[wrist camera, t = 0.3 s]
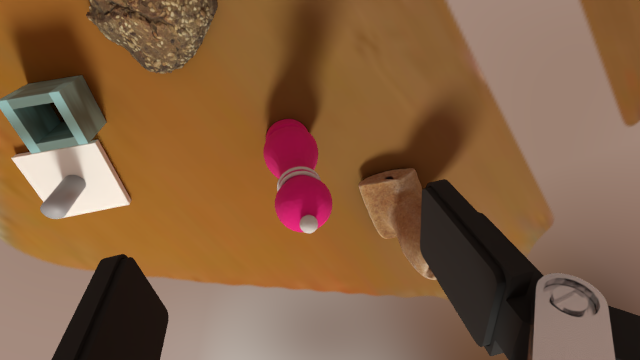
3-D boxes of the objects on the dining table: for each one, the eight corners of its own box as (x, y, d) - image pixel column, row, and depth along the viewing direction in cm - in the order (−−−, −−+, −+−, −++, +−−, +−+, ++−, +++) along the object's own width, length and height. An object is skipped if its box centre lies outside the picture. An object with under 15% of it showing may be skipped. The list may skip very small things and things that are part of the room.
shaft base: (15, 154, 42) (-21, 184, 36) (97, 139, 43) (75, 166, 37) (59, 214, 48) (34, 249, 42) (131, 200, 49) (116, 232, 43)
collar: (27, 83, 38) (-5, 101, 33) (82, 74, 39) (58, 91, 34) (56, 131, 42) (31, 153, 37) (106, 122, 42) (88, 143, 37)
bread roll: (233, 5, 38) (231, 10, 34) (170, 84, 41) (162, 98, 37) (123, -101, 32) (105, -111, 28) (59, 3, 35) (35, 8, 31)
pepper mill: (270, 166, 50) (283, 265, 33) (255, 122, 46) (262, 211, 29) (316, 153, 50) (352, 245, 34) (306, 109, 46) (340, 189, 30)
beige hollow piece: (436, 213, 62) (484, 275, 50) (377, 238, 63) (410, 305, 50) (422, 148, 53) (475, 203, 41) (353, 177, 54) (386, 241, 42)
